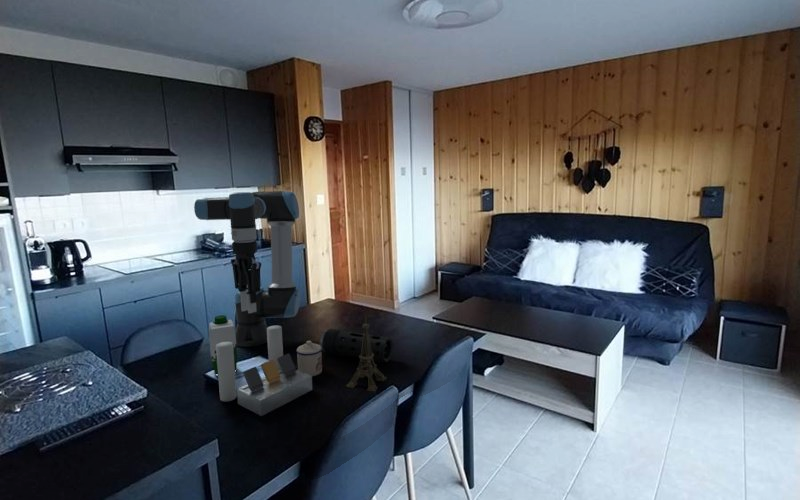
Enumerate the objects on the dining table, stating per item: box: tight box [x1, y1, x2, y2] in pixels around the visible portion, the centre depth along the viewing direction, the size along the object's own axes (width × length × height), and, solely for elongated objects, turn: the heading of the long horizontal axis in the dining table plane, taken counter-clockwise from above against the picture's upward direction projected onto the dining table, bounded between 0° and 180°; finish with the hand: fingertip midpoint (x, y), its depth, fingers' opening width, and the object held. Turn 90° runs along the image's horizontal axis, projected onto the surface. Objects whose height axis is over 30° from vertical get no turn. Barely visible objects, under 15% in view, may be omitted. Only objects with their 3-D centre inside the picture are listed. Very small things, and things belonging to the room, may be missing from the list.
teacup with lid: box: [295, 340, 323, 377], centre depth 159 cm, size 12×9×12 cm
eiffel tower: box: [345, 312, 388, 393], centre depth 148 cm, size 11×11×25 cm
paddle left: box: [242, 366, 264, 392], centre depth 135 cm, size 2×4×7 cm
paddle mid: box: [260, 360, 281, 384], centre depth 140 cm, size 2×4×7 cm
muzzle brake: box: [319, 328, 394, 364], centre depth 170 cm, size 10×28×10 cm, turn 68°
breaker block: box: [236, 369, 313, 417], centre depth 140 cm, size 12×20×5 cm, turn 143°
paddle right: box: [277, 353, 297, 376], centre depth 145 cm, size 2×4×7 cm
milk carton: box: [208, 315, 238, 374], centre depth 158 cm, size 9×9×20 cm
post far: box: [267, 325, 284, 371], centre depth 153 cm, size 5×5×18 cm
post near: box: [216, 342, 237, 402], centre depth 138 cm, size 5×5×18 cm
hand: (249, 311), depth 143 cm, fingers open, 3 cm apart
